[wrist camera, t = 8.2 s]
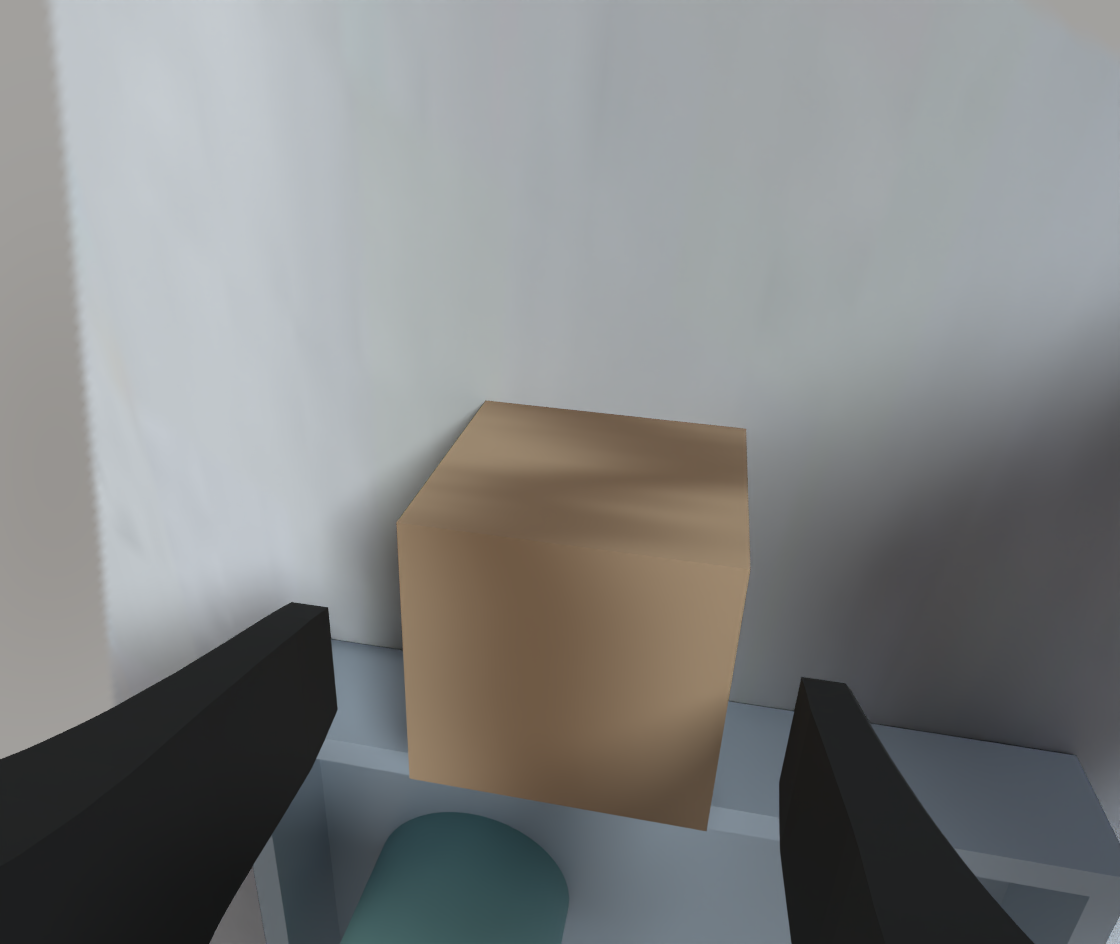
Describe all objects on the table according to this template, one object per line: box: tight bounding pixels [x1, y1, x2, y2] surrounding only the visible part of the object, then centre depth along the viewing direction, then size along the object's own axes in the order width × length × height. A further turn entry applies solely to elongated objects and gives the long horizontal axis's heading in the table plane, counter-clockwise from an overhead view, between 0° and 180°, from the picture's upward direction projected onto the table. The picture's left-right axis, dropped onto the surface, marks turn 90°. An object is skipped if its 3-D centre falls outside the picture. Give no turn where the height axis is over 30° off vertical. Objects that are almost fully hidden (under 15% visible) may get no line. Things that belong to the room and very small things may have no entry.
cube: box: [396, 401, 750, 831], centre depth 15 cm, size 5×5×5 cm
